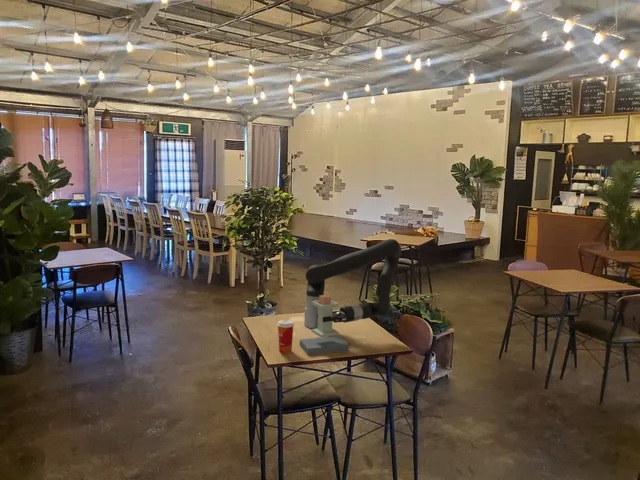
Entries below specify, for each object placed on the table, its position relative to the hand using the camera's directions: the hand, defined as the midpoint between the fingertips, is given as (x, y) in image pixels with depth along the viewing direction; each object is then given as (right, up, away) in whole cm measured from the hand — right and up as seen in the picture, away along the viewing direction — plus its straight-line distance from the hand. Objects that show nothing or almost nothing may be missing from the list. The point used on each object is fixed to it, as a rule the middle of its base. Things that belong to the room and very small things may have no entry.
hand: (320, 318), depth 234 cm
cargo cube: (+2, +6, 0) cm, 7 cm away
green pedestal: (+2, -7, +2) cm, 8 cm away
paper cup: (-16, -15, -2) cm, 22 cm away
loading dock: (+2, -15, +3) cm, 15 cm away
